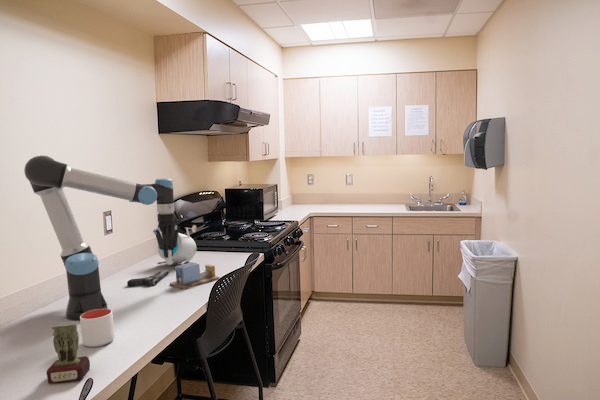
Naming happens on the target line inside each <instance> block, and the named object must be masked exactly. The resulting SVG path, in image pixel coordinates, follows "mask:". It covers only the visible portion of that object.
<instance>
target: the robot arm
mask: <svg viewBox="0 0 600 400" xmlns="http://www.w3.org/2000/svg"><path fill="white" fill-rule="evenodd" d="M23 172H24V176H25V178H26V179H27V180H28V181H29V183H30V185H31V189H32V190H33V193H34V194H35V195H37V196H39V197H40V198H41V201H42V204H43V206H44V209H45V212H46V214H47V216H48V218H49V221H50V223H51V226H52V228H53V231H54V233H55V235H56V237H57V240H58V243H59V245H60V248H61V253H60V258H61V260H62V261H61V262H62V263H63V265H64V268H65V270H66V271H65V272H66V278H67V279H66V282H67V289H68V301H67V306H66V310H65V316H66V318H67V319H68V320H69V321H70V320H71V321H80V316H81V315H82V314H83V313H85V312H88V311H91V310H95V309H109V308H108V303H107V301H106V299H105V297H104V295H103V293H102V288H101V277H100V268H99V265H100V263H99V260H98V257H97V255H96V254H94V253H93V251H92V248H91V246H90V244H89V243H86V242H85V241H84V238H83V237H82V234H81V232H80V229H79V227H78V223H77V221H76V218H75V217H74V214H73V211H72V209H71V207H70V205H69V202H68V199H67V196H66V194H65V191H64V188H66V187H67V188H71V189H75V190H79V191H83V192H88V193H93V194H98V195H102V196H107V197H111V198H116V199H121V200H126V201H128V202H130V203H140V204H143V205H146V206H149V205H153V204H154V203H155V202H156V212H157V214H156V215H157V222H158V224H157V228H156V229H153V233H154V235H155V237H156V241H157V244H158V245H159V248H160V249H161V250H164V257H166V260H165V261H166V263H165V265H168V266H169V265H173V262H172V256H173V250H174V248H176V246H177V239H178V233H180V229H181V226H178V225H177V223H176V222H175V220H176V215H175V214H176V213H175V200H174V199H175V197H174V184H173V183H174V182H173V180H172V179H171V178H156V179H155V180H154V183H149V184H148V183H147V184H141V183H136V182H132V181H129V180H123V179H119V178H117V177H116V178H115V177H111V176H106V175H103V174H99V173H94V172H90V171H85V170H81V169H78V168H73V167H70V165H69V164H68V163H67V164H66V163H63V162H60V161H57V160H55V159H54V158H52V157H50V156H48V155H37V156H34V157H32V158H30V159H29V160H28V161H27V162H26V164H25V165H24V171H23ZM172 235H173V236H172ZM158 245H157V246H158ZM168 249H169V250H168Z"/></svg>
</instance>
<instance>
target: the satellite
mask: <svg viewBox="0 0 600 400" xmlns="http://www.w3.org/2000/svg"><path fill="white" fill-rule="evenodd" d="M185 230H186V234H187V235H186V234H183V233H180V232H178V239H177V246H176V248H174V250H173V256H172V263H173V262H174V263H177V265H183V264H187V263H189V262H190V261H191V260H193V258H194V257H195V255H196V253H197V252H198V251H197V250H198V248H197V244H196V242H195V240H194V239H193V238H192V237H191V236H190V232H189V230H191V231H192V233H196V231H197V230H198V229H197V225H196V224H193V225H192V227H188V226H187V227H185ZM172 236H173V235H172ZM168 250H169V249H168ZM157 251H158V255H159V257H160V258H162V259H163V261H159V262H157V265H161V266H162V264H163V265H164V264H166V257H164V250H161V249H160V248H159V245H157ZM164 260H165V261H164Z"/></svg>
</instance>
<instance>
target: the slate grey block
mask: <svg viewBox="0 0 600 400" xmlns="http://www.w3.org/2000/svg"><path fill="white" fill-rule="evenodd" d="M174 267H175V279H176V281H177V283H179V278H178V277H182V284H183V285H187V284H190V283H194V282H197V281H201V280H200V272H201V271H200V264H199V263H197V262H186V263H184V264H182V265H181V264H178V265H176V266H174Z"/></svg>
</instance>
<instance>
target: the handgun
mask: <svg viewBox="0 0 600 400" xmlns="http://www.w3.org/2000/svg"><path fill="white" fill-rule="evenodd" d="M169 274H170V271H169V270H168V269H163V270H162V271H158V272H157V273H155V274H153V275H151V276H150V275H149V276H148V277H146V276H145V277H139V278H131V279H129V280H128V281H127V287H128V288H131V287H141V286H146V287H152V286H153V285H154V286H155V285H157V284H158V283H159V282H160V281H161V280H162V279H164V278H165V277H166V276H168V275H169Z"/></svg>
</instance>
